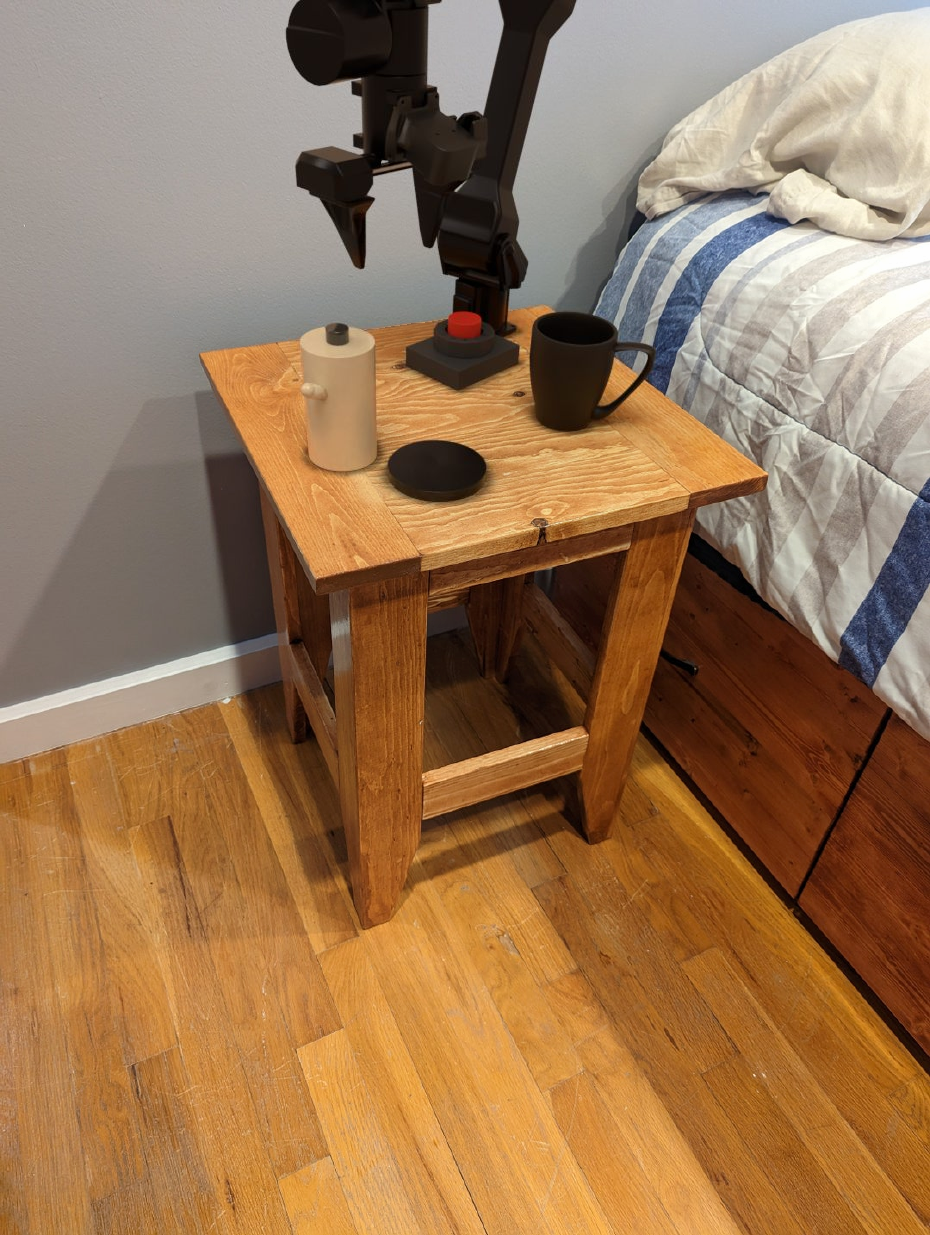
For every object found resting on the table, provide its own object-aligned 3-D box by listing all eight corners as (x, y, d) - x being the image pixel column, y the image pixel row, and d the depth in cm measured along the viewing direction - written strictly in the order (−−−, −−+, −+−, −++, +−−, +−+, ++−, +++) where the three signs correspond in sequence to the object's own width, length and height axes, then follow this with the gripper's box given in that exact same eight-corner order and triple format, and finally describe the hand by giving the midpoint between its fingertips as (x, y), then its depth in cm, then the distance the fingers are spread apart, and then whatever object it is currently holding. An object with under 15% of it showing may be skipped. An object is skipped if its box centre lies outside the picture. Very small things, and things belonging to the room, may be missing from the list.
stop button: (463, 324, 96) (464, 308, 95) (487, 334, 94) (488, 318, 93) (440, 332, 94) (441, 317, 93) (464, 343, 92) (465, 327, 91)
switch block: (466, 340, 101) (468, 307, 99) (518, 363, 98) (521, 329, 95) (405, 365, 96) (405, 330, 93) (458, 390, 92) (459, 354, 89)
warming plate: (436, 439, 84) (436, 429, 83) (505, 475, 80) (506, 466, 79) (367, 472, 79) (367, 463, 78) (438, 513, 74) (438, 504, 74)
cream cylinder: (330, 430, 84) (322, 307, 76) (388, 446, 83) (387, 321, 74) (280, 474, 78) (266, 344, 70) (343, 492, 76) (336, 361, 68)
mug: (632, 452, 84) (651, 360, 78) (513, 428, 86) (523, 336, 80) (645, 414, 90) (664, 325, 84) (534, 393, 92) (544, 305, 86)
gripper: (378, 100, 65) (381, 306, 75) (535, 75, 75) (519, 259, 86) (284, 74, 70) (299, 270, 80) (443, 55, 81) (438, 230, 91)
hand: (394, 257), depth 84 cm, fingers open, 9 cm apart
